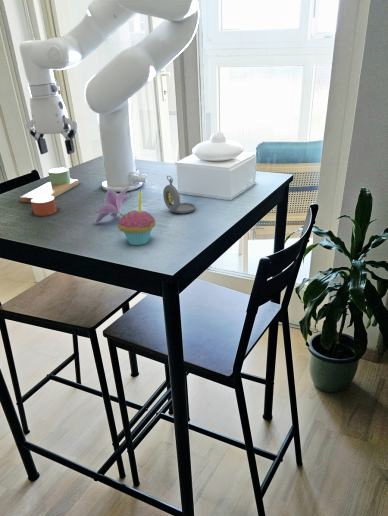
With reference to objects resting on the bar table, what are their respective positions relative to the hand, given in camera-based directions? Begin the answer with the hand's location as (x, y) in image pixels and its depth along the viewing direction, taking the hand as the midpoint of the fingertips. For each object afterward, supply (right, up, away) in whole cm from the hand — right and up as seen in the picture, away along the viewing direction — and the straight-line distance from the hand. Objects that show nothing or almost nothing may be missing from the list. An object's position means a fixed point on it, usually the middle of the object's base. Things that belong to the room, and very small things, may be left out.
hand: (57, 153), depth 148 cm
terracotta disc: (0, -22, -13) cm, 26 cm away
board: (-2, -12, +1) cm, 12 cm away
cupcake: (+29, -35, -34) cm, 57 cm away
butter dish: (+49, -12, -2) cm, 50 cm away
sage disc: (-1, -7, +6) cm, 9 cm away
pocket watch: (+38, -23, -18) cm, 48 cm away
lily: (+22, -28, -23) cm, 42 cm away
